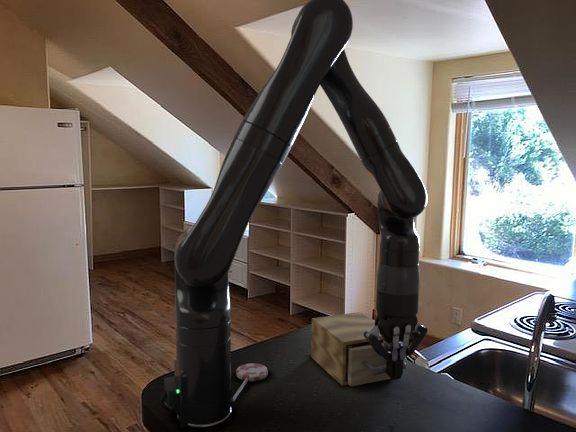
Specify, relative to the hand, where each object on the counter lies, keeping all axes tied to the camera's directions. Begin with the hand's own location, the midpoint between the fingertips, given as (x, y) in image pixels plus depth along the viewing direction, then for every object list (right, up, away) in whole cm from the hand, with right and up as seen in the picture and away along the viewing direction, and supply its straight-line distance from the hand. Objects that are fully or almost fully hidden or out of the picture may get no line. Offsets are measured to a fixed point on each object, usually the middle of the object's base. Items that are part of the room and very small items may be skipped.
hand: (394, 377), depth 89 cm
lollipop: (-28, -4, +6) cm, 29 cm away
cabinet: (-6, -3, +15) cm, 16 cm away
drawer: (-4, -2, +10) cm, 11 cm away
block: (-4, -1, +11) cm, 12 cm away
